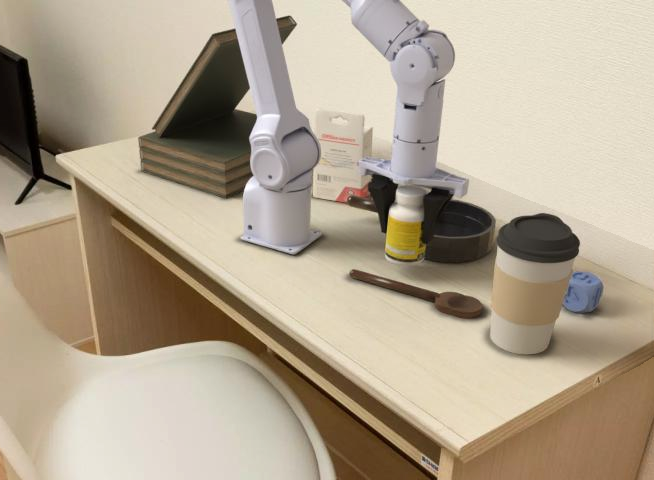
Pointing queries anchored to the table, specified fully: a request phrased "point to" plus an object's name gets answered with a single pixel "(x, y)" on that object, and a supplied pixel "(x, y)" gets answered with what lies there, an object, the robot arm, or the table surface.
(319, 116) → the ink cartridge box
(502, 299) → the coffee cup
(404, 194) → the supplement bottle
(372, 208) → the pan handle
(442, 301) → the walnut spoon
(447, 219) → the frying pan
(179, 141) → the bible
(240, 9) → the robot arm
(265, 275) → the table surface
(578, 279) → the decorative dice
